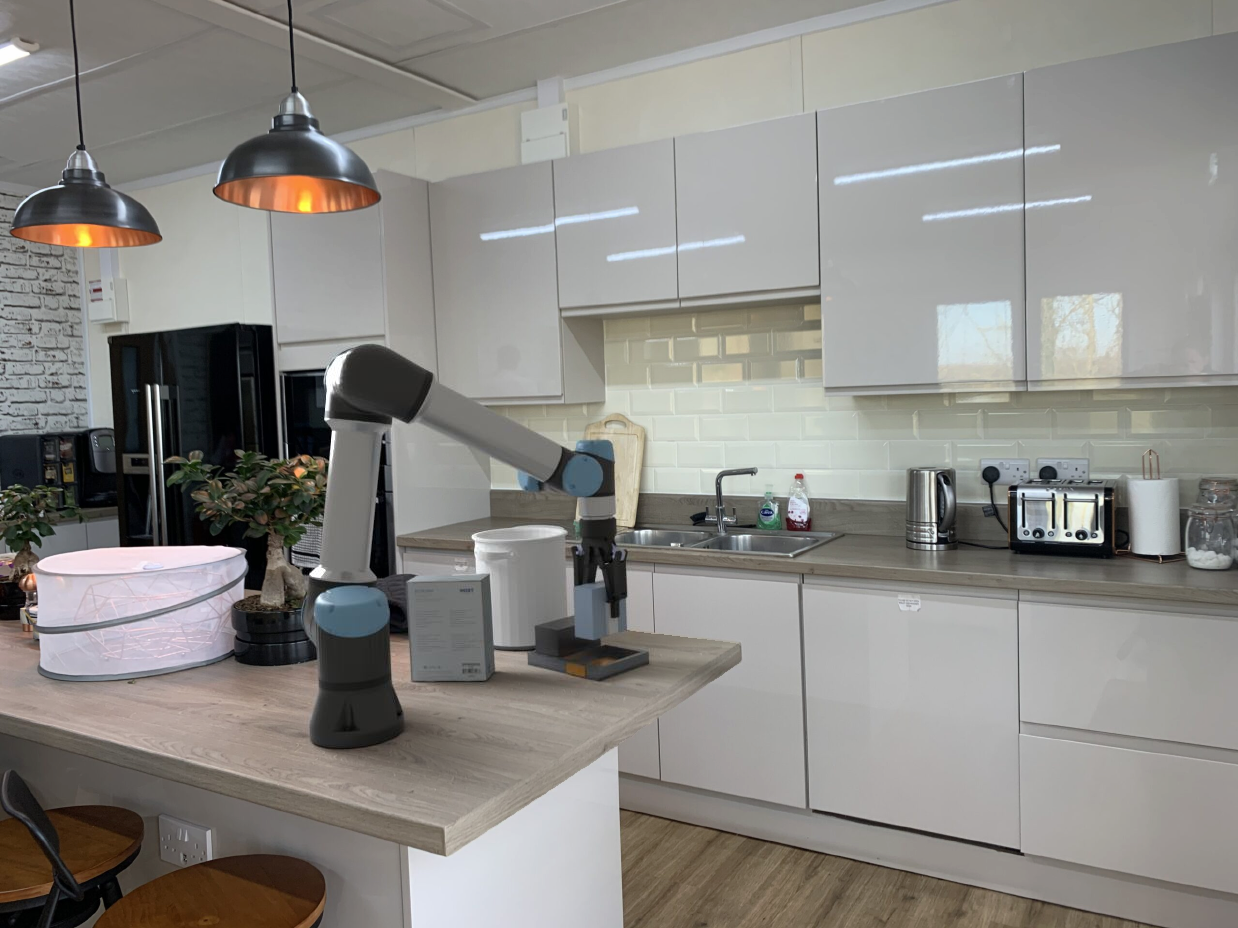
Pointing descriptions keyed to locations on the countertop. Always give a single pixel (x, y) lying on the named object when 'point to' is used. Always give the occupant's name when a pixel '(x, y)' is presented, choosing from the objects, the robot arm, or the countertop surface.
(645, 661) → the tray
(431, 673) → the hard drive box
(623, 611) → the block
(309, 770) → the countertop surface
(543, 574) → the bucket
